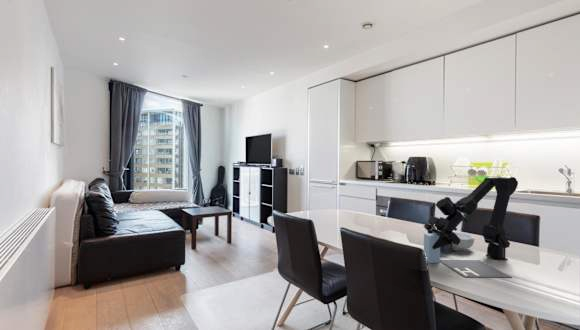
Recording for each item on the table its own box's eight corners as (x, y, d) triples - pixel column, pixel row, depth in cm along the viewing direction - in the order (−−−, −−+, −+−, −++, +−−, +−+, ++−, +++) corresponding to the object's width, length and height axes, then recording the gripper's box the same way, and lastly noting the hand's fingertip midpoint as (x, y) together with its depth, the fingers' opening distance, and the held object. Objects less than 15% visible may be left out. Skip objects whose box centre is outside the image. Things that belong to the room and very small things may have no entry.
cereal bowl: (481, 253, 142) (481, 239, 142) (447, 253, 143) (448, 239, 143) (461, 243, 159) (462, 231, 159) (431, 243, 160) (432, 230, 160)
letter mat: (479, 260, 132) (479, 260, 132) (511, 277, 113) (511, 276, 113) (438, 260, 131) (438, 259, 131) (464, 277, 112) (464, 276, 112)
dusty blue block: (434, 259, 133) (434, 233, 133) (439, 262, 128) (440, 236, 128) (423, 258, 133) (424, 233, 133) (428, 262, 128) (429, 236, 128)
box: (431, 249, 149) (431, 229, 149) (439, 248, 150) (440, 228, 150) (443, 253, 141) (444, 232, 141) (452, 252, 143) (452, 231, 143)
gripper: (427, 206, 140) (406, 229, 139) (455, 214, 122) (430, 240, 120) (441, 222, 142) (420, 245, 140) (470, 231, 123) (447, 258, 122)
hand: (428, 246), depth 130 cm, fingers closed on dusty blue block, 5 cm apart
